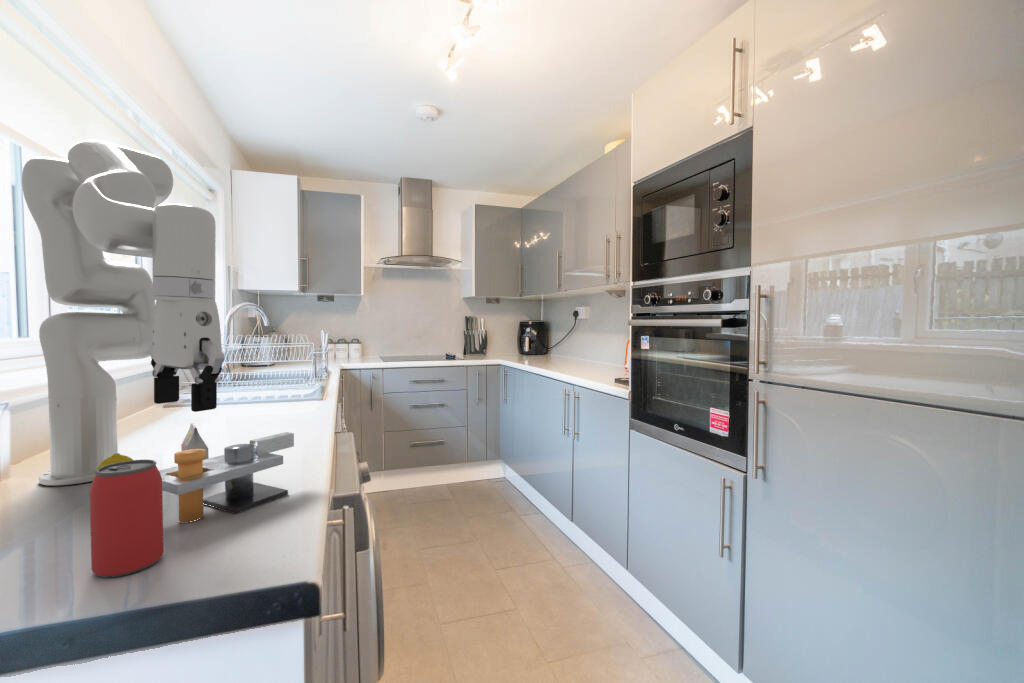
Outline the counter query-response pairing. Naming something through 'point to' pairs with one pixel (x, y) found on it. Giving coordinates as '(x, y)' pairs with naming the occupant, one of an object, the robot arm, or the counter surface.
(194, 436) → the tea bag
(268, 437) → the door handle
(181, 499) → the orange flanged peg
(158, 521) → the beer can
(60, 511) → the counter surface
